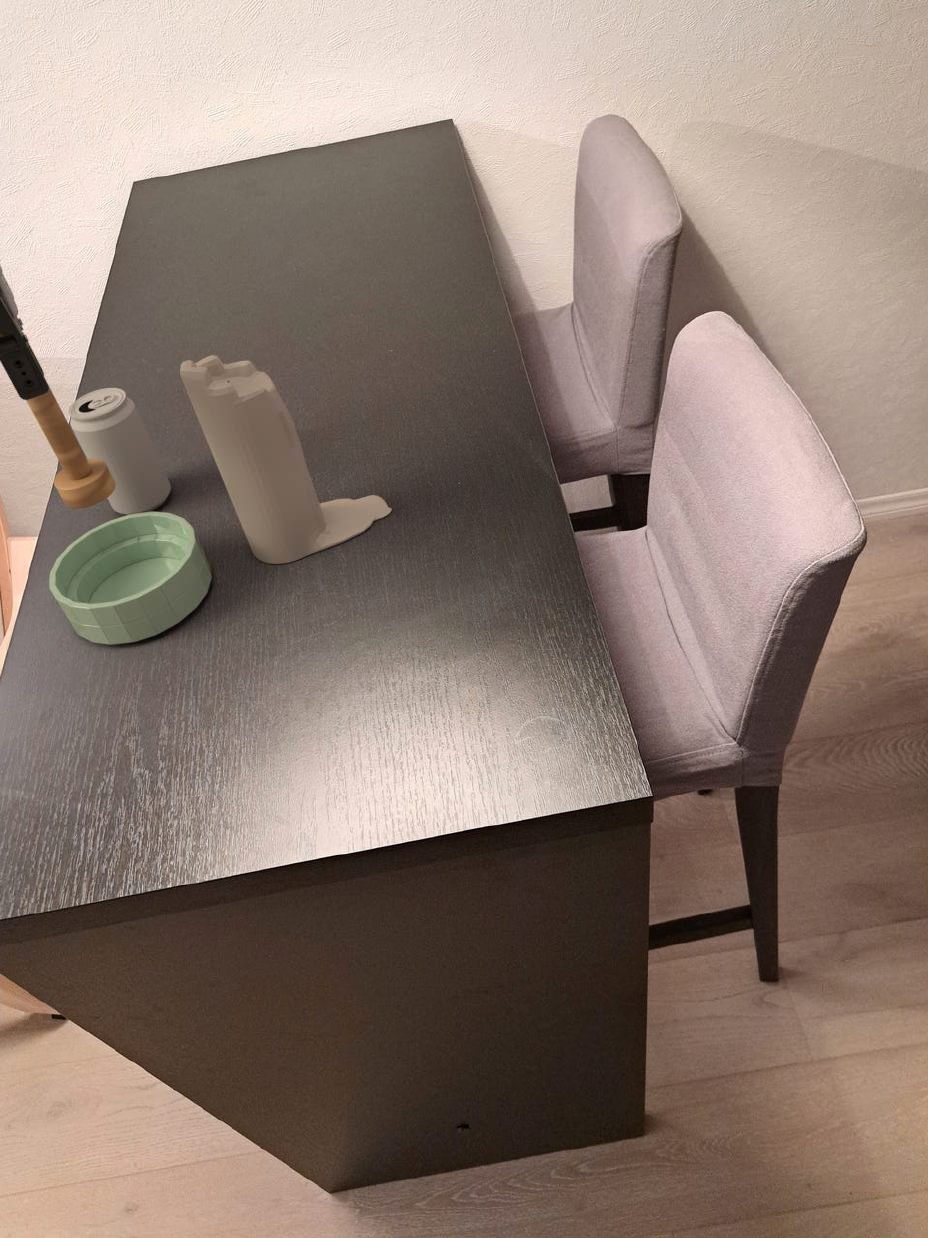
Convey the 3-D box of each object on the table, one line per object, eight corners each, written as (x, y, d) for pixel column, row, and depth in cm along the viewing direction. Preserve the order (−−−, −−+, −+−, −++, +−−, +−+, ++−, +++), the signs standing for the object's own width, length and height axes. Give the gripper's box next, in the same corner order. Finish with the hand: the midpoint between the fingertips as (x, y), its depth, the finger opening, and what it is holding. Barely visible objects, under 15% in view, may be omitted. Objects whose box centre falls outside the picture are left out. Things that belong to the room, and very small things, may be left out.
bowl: (166, 657, 81) (144, 615, 78) (45, 640, 85) (18, 599, 82) (238, 558, 90) (220, 516, 86) (124, 547, 94) (103, 507, 91)
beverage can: (110, 497, 101) (60, 399, 93) (167, 476, 103) (123, 377, 95) (119, 527, 97) (67, 427, 89) (179, 504, 98) (133, 403, 90)
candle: (399, 520, 90) (348, 325, 76) (261, 574, 87) (183, 382, 74) (375, 484, 95) (323, 295, 81) (244, 533, 92) (168, 347, 79)
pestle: (96, 510, 77) (7, 342, 67) (53, 507, 79) (-40, 341, 69) (125, 478, 80) (44, 312, 70) (84, 476, 82) (-2, 313, 71)
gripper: (-151, 145, 65) (-22, 371, 77) (-154, 194, 55) (-6, 445, 67) (-41, 114, 67) (68, 340, 78) (-25, 156, 57) (96, 406, 69)
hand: (33, 387), depth 73 cm, fingers closed on pestle, 2 cm apart
